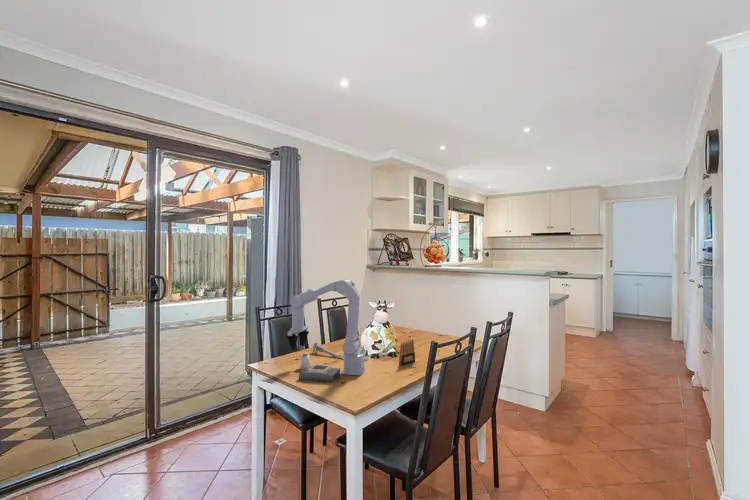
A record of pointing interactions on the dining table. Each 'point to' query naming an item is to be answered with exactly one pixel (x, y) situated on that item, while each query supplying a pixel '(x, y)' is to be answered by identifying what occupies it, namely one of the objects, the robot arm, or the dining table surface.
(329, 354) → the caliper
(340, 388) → the dining table surface
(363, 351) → the metal bracket
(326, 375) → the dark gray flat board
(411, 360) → the ammunition clip
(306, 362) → the white capped cylinder
